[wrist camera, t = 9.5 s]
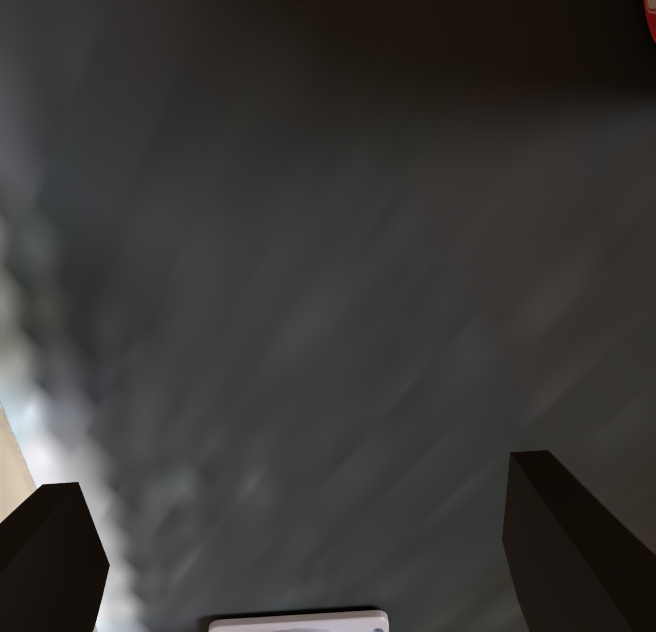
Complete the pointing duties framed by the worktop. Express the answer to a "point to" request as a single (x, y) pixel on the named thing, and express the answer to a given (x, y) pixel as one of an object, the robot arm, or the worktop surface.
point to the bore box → (12, 473)
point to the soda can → (651, 16)
